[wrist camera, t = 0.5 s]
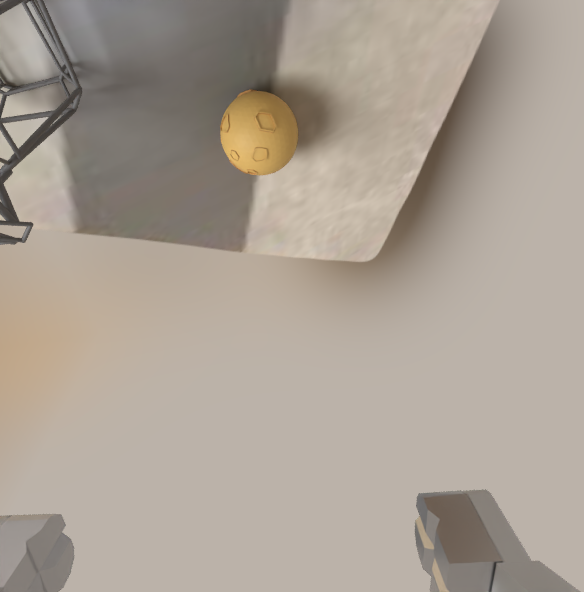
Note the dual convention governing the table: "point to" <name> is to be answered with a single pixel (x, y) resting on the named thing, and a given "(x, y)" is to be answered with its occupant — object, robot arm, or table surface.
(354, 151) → the table surface
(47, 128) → the geometric lantern
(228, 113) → the stress ball
